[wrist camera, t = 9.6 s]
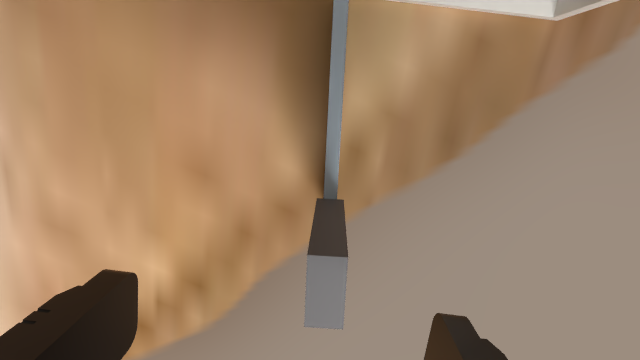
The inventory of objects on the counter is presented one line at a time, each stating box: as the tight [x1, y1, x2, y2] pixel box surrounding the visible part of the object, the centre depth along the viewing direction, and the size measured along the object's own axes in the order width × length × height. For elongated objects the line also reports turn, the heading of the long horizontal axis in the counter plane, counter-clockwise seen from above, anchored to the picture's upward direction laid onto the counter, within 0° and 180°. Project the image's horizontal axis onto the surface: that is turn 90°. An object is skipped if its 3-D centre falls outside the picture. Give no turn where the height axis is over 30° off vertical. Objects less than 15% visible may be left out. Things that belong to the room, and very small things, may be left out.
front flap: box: [304, 0, 349, 329], centre depth 18 cm, size 14×1×16 cm, turn 177°
